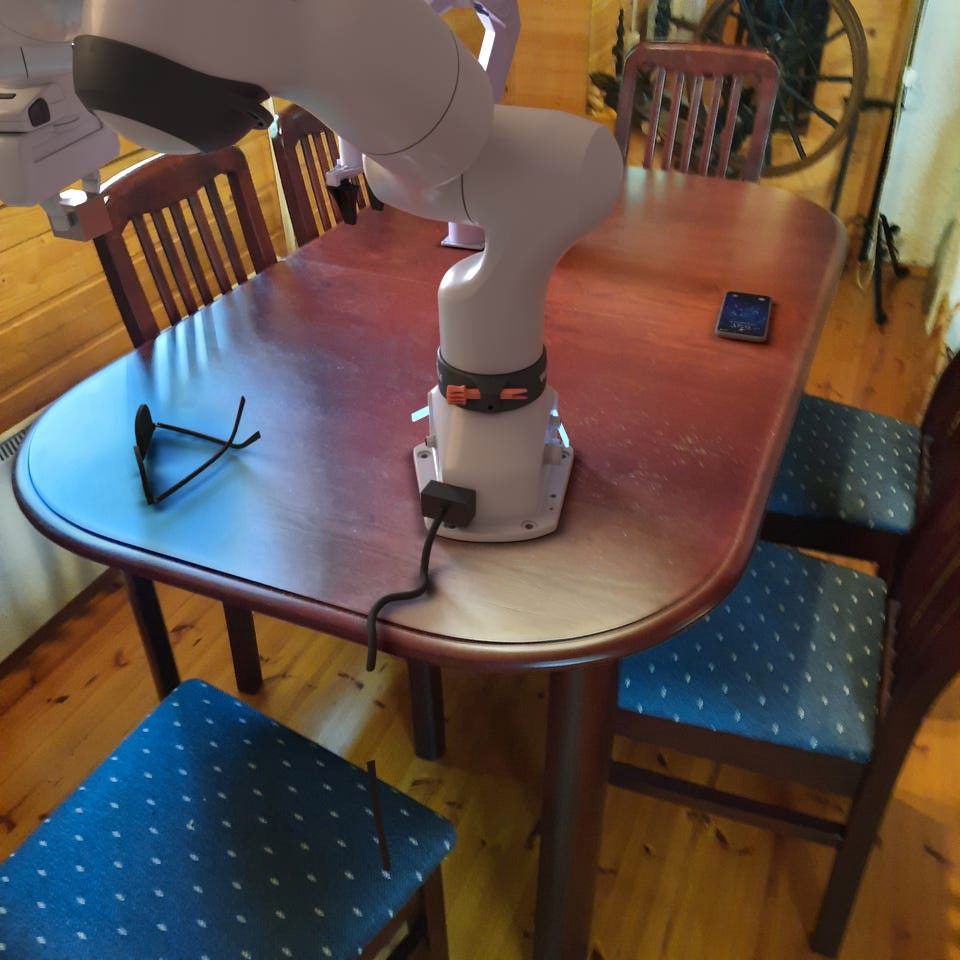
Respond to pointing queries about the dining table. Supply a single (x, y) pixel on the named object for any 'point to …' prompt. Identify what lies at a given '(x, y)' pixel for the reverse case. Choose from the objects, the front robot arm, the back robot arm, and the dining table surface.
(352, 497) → the dining table surface
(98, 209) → the block
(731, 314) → the smartphone
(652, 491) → the dining table surface
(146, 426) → the sunglasses
